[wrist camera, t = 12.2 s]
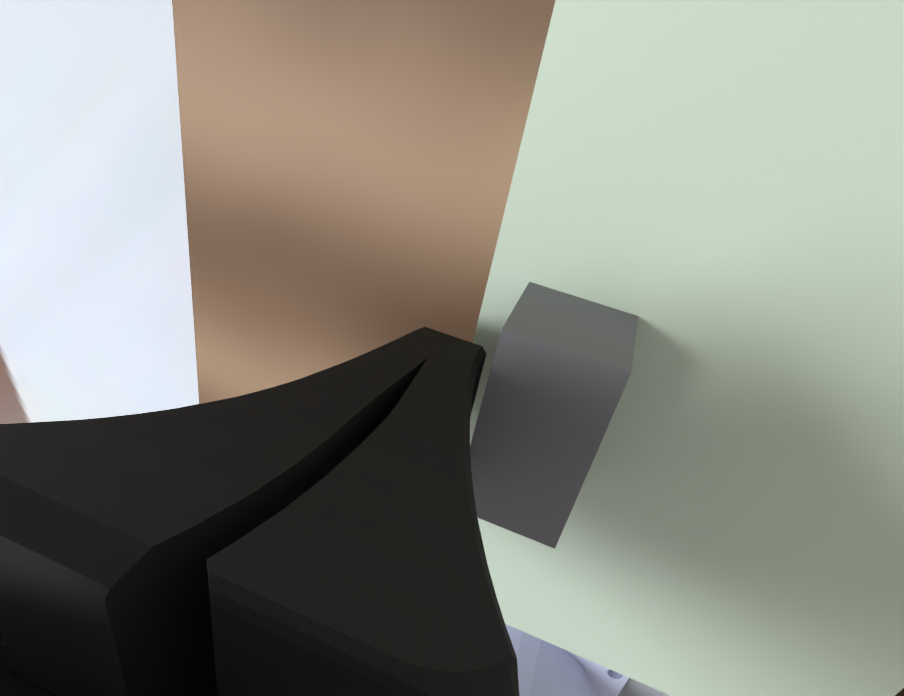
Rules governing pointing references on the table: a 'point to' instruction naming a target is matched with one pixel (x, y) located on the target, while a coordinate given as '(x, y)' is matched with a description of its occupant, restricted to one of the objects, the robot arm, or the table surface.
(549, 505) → the lid
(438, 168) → the brown wooden shallow box
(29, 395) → the table surface
